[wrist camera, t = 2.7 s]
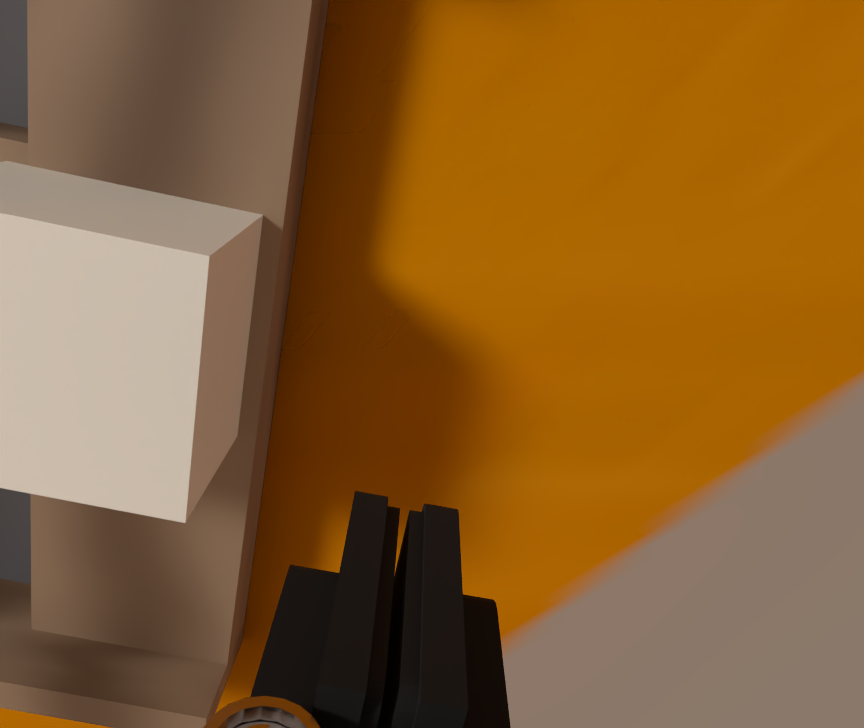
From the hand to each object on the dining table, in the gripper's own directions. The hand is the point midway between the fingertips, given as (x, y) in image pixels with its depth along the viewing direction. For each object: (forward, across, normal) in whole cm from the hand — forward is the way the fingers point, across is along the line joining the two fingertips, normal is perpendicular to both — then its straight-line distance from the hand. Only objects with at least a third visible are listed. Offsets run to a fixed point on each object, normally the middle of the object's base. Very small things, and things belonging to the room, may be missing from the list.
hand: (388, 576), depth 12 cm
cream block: (+8, +7, -1) cm, 11 cm away
